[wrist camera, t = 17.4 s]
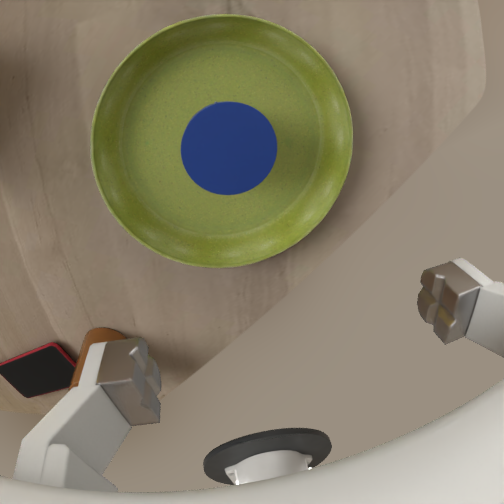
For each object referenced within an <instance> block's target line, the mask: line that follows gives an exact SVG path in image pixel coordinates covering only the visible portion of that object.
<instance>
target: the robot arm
mask: <svg viewBox="0 0 504 504" xmlns="http://www.w3.org/2000/svg"><path fill="white" fill-rule="evenodd" d="M421 284H422V285H423V288H422V290H421V291H420V293H419V294H418V301H417V305H418V310H419V313H420V315H421V317H422V318H423V319H424V321H425V322H426V323H429V324H432V325H434V332H435V333H436V335H437V336H438V337H439V338H440V339H441V340H442V342H443V343H444V344H445V345H446V344H448V343H450V342H453V341H455V340H457V339H459V338H462V337H464V336H465V338H468V339H469V340H471V341H473V342H475V343H477V344H479V345H481V346H483V347H485V348H487V349H488V350H490V351H492V352H494V353H496V354H498V355H500V356H502V357H504V283H502V282H499V281H495V282H493V281H492V280H491V279H490V278H488V277H487V276H486V275H485V274H483V273H482V272H481V271H480V270H478V269H477V268H476V267H474V266H473V265H472V264H471V263H469V262H468V261H467V260H465V259H463V258H458V259H455V260H452V261H449V262H448V263H445V264H442V265H439V266H436V267H432V268H429V269H426V270H424V272H423V273H422V276H421ZM148 349H149V347H148V345H147V343H146V341H145V340H144V338H142V337H137V338H130V339H122V340H115V341H108V342H101V343H93V344H92V345H91V346H90V348H89V351H88V354H87V357H86V360H85V364H84V367H83V370H82V374H81V377H80V381H79V384H78V387H73V388H72V389H71V390H70V391H69V392H68V393H67V394H66V395H65V396H64V397H63V398H62V399H61V400H60V401H59V402H58V403H57V404H56V405H55V406H54V407H53V408H52V409H51V410H50V411H49V412H48V413H47V415H46V416H45V417H44V418H43V419H42V420H41V421H40V422H39V423H38V424H37V425H36V426H35V427H34V428H33V429H32V430H31V431H30V432H29V433H28V434H27V435H26V437H25V438H24V439H23V440H22V443H21V447H20V451H19V455H18V459H17V463H16V467H15V471H14V476H13V479H12V478H8V477H4V476H0V504H504V379H503V380H501V381H500V382H498V383H497V384H495V385H494V386H492V387H491V388H489V389H488V390H486V391H485V392H483V393H482V394H480V395H478V396H477V397H475V398H474V399H472V400H470V401H469V402H467V403H465V404H463V405H462V406H460V407H458V408H456V409H455V410H453V411H451V412H449V413H447V414H446V415H444V416H442V417H440V418H438V419H436V420H434V421H432V422H430V423H428V424H426V425H424V426H423V427H420V428H418V429H416V430H414V431H412V432H409V433H407V434H405V435H403V436H401V437H398V438H396V439H394V440H391V441H389V442H387V443H384V444H382V445H379V446H377V447H374V448H372V449H369V450H366V451H364V452H361V453H358V454H356V455H353V456H350V457H347V458H344V459H341V460H338V461H335V462H331V463H328V464H325V465H322V466H318V467H315V468H311V467H310V468H309V469H308V466H307V465H308V464H309V463H310V462H311V461H312V455H304V454H301V453H299V452H297V451H291V450H280V451H271V452H266V453H261V454H258V455H254V456H252V457H249V458H247V459H245V460H243V461H241V462H239V463H238V464H236V465H233V466H230V467H227V468H225V472H226V474H227V476H228V477H229V478H230V479H231V481H232V482H233V483H234V485H232V486H225V487H217V488H209V489H199V490H189V491H174V492H147V493H132V492H131V493H130V492H129V493H128V492H118V489H117V488H116V486H115V485H114V484H112V483H111V482H110V481H108V480H107V479H106V478H105V477H103V476H102V474H103V473H104V471H105V469H106V468H107V466H108V465H109V463H110V461H111V460H112V458H113V456H114V455H115V453H116V452H117V450H118V449H119V447H120V445H121V444H122V442H123V441H124V439H125V437H126V436H127V434H128V433H129V431H130V430H131V428H132V427H131V426H136V425H144V424H153V423H160V402H159V400H158V398H157V397H156V396H157V395H158V394H159V393H160V391H161V377H160V372H159V369H158V366H157V363H156V361H155V359H154V358H152V357H150V356H149V355H148Z"/></svg>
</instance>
